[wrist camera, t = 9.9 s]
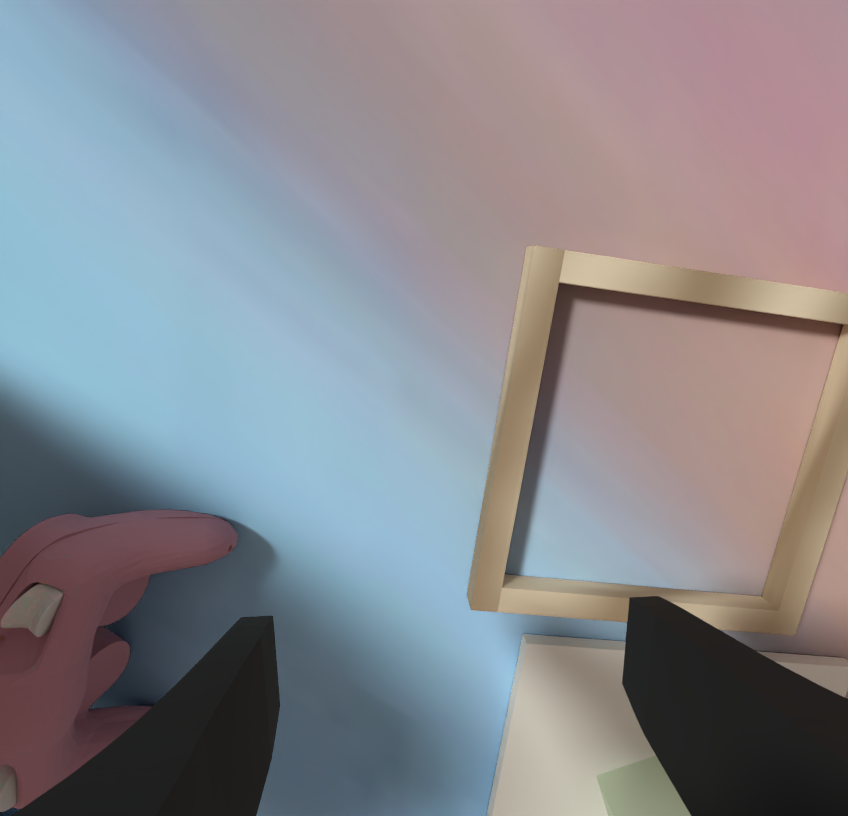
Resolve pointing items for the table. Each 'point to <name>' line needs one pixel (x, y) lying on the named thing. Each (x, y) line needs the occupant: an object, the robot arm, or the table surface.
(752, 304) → the maple pocket frame
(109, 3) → the table surface
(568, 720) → the beige mat
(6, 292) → the table surface
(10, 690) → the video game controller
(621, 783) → the sage block
